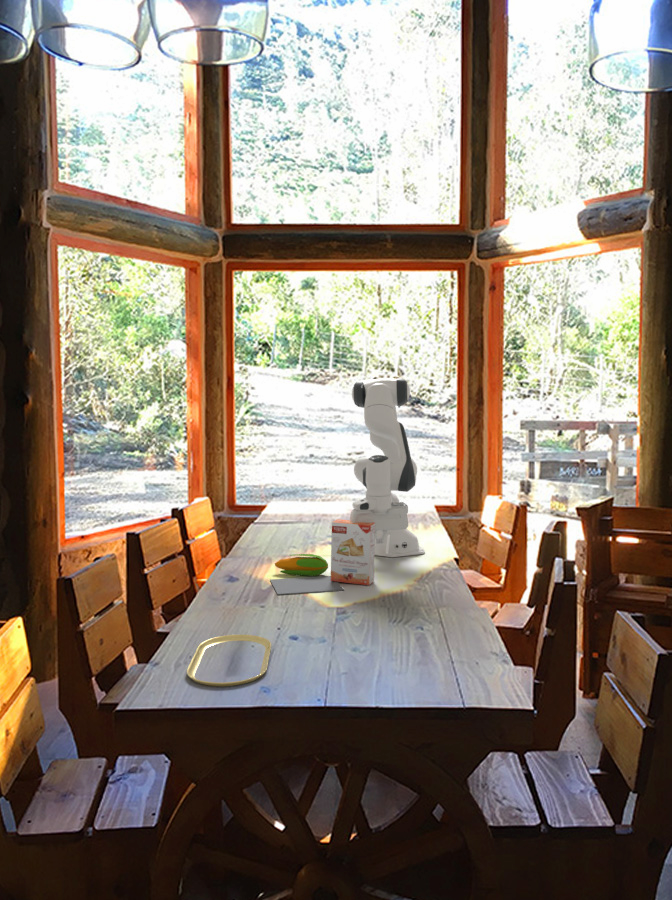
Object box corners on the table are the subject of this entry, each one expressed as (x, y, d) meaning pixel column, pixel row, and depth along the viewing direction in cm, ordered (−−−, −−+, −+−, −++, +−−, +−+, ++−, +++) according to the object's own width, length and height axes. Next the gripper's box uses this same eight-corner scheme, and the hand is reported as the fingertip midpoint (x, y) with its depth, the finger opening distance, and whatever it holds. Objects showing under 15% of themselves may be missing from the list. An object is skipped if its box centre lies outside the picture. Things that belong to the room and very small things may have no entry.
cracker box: (329, 581, 273) (330, 521, 270) (335, 577, 278) (336, 518, 276) (369, 586, 268) (370, 524, 266) (374, 581, 274) (375, 521, 272)
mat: (332, 576, 282) (332, 575, 282) (344, 590, 262) (344, 589, 262) (270, 580, 277) (270, 579, 277) (277, 595, 258) (277, 593, 258)
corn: (325, 556, 280) (270, 554, 285) (325, 578, 280) (270, 575, 285) (330, 553, 287) (277, 551, 292) (330, 574, 287) (277, 572, 292)
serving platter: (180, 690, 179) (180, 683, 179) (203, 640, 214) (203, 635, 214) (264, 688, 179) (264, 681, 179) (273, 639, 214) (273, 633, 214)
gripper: (405, 500, 278) (405, 539, 279) (348, 503, 274) (348, 542, 275) (410, 503, 272) (410, 543, 273) (352, 505, 268) (352, 546, 269)
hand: (379, 543), depth 274 cm, fingers closed
